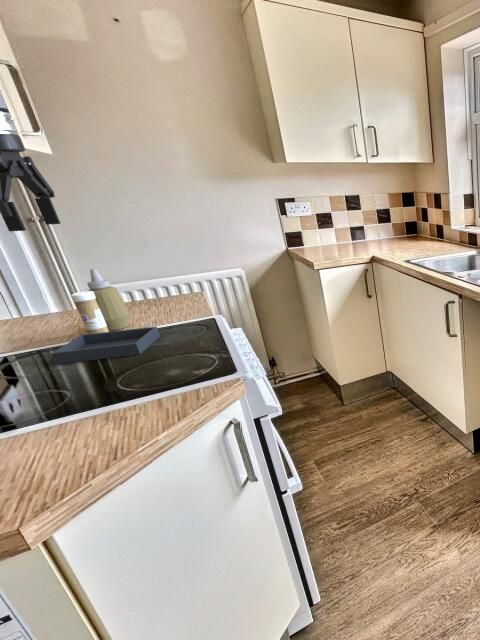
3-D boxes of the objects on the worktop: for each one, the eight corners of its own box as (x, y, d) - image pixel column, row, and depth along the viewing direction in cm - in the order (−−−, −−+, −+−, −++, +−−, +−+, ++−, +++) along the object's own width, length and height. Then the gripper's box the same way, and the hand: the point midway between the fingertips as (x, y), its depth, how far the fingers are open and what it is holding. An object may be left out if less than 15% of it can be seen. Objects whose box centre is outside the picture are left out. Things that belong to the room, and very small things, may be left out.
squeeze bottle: (125, 321, 132) (103, 265, 125) (139, 325, 129) (117, 267, 122) (93, 330, 126) (67, 271, 119) (107, 334, 122) (81, 273, 115)
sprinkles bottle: (86, 342, 117) (65, 295, 112) (97, 336, 121) (78, 291, 116) (104, 340, 118) (85, 294, 113) (115, 334, 122) (97, 289, 117)
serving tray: (56, 364, 104) (50, 353, 102) (85, 344, 115) (81, 334, 114) (140, 354, 109) (136, 343, 108) (160, 336, 120) (157, 326, 119)
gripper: (-26, 129, 87) (21, 233, 96) (49, 136, 109) (83, 220, 117) (-76, 128, 85) (-22, 235, 93) (11, 136, 107) (48, 222, 115)
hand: (36, 227), depth 105 cm, fingers open, 13 cm apart
